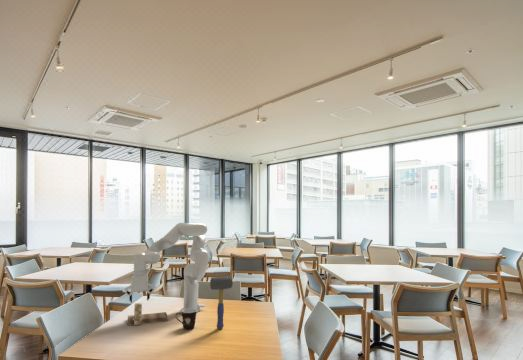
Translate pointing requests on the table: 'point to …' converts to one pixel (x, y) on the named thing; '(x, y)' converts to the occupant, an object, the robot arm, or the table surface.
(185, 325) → the coffee mug
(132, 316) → the walnut board
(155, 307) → the table surface
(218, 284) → the rubber mallet
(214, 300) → the table surface
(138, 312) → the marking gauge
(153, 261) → the robot arm
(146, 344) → the table surface
